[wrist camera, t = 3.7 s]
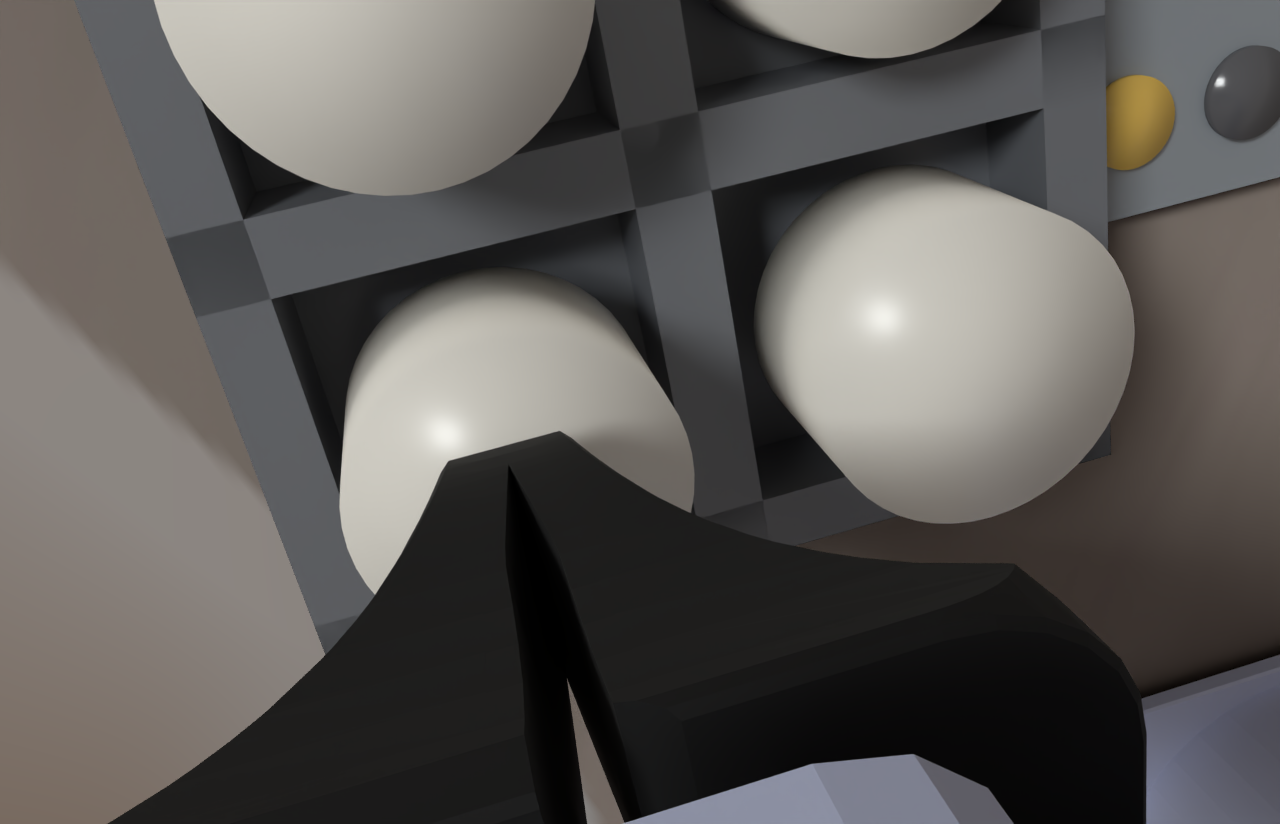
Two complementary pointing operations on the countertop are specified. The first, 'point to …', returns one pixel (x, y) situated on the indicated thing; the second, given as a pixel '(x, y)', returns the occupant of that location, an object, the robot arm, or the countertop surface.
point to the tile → (1189, 99)
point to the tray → (599, 230)
